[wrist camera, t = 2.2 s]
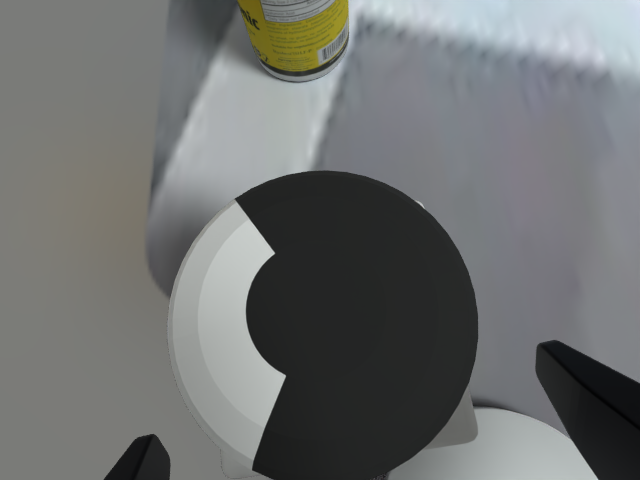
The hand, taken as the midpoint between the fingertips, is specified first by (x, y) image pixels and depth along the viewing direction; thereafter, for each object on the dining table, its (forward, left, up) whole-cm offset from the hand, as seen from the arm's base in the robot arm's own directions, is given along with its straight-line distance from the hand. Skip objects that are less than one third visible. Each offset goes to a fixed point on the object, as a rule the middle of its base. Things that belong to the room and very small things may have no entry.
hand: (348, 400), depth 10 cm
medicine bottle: (+2, -1, -9) cm, 9 cm away
